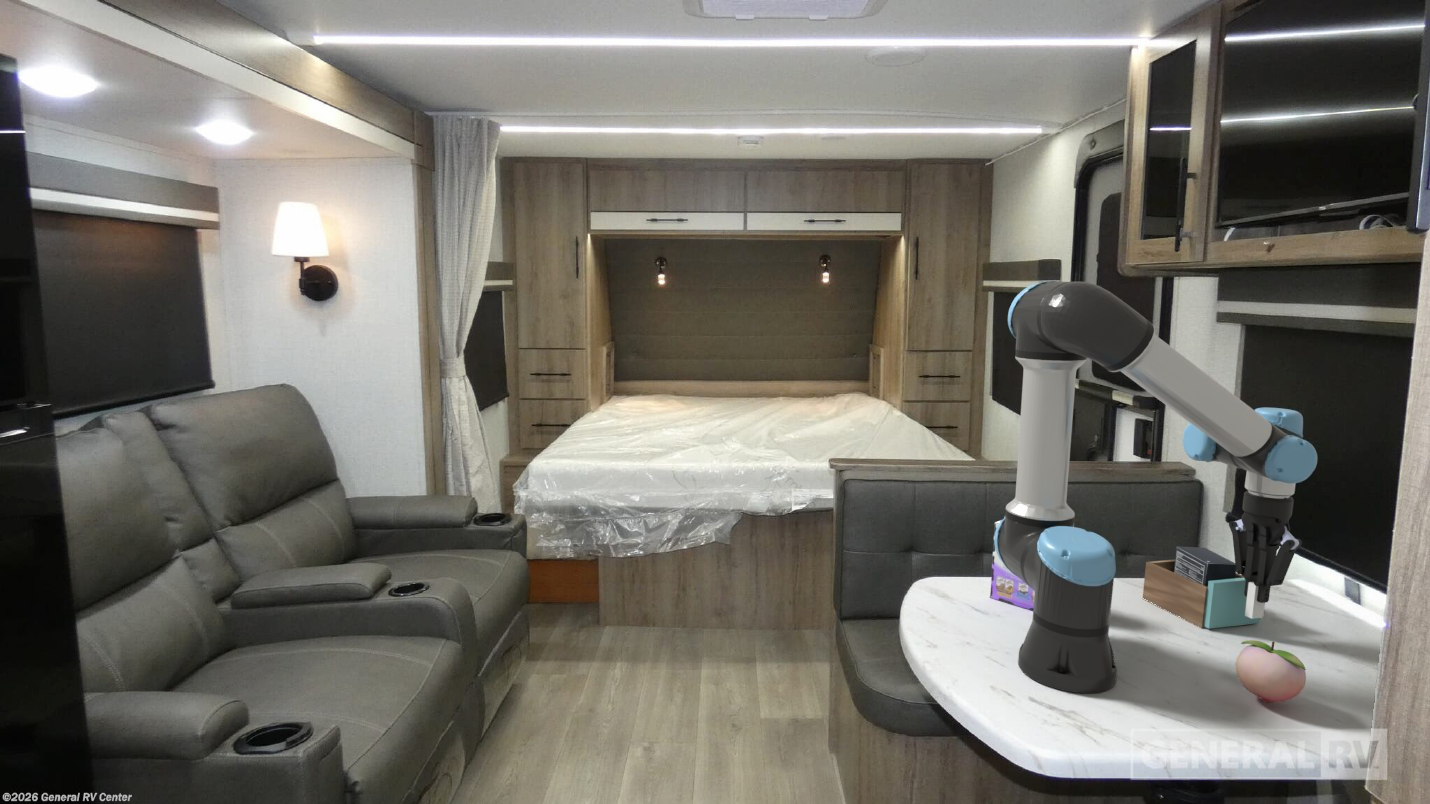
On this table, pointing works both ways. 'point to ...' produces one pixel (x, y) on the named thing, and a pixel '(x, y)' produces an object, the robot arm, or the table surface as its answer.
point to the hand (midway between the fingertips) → (1253, 616)
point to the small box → (1202, 565)
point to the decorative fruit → (1270, 672)
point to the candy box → (1009, 584)
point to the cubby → (1175, 591)
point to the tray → (1226, 604)
